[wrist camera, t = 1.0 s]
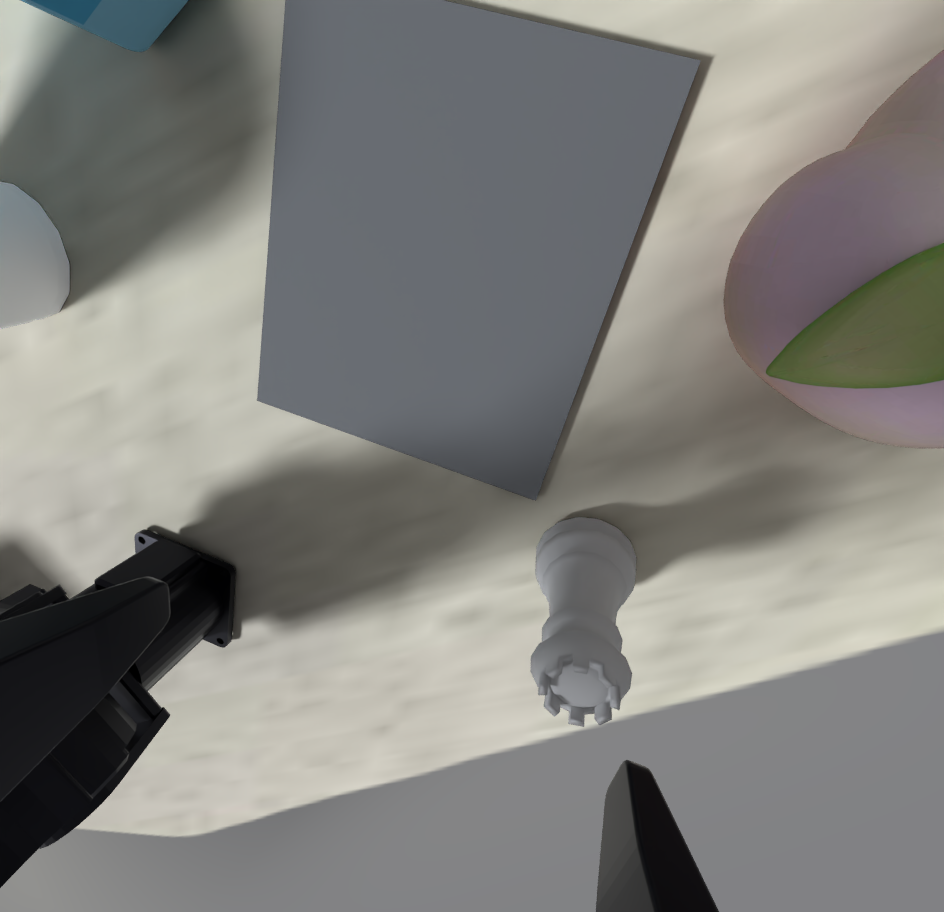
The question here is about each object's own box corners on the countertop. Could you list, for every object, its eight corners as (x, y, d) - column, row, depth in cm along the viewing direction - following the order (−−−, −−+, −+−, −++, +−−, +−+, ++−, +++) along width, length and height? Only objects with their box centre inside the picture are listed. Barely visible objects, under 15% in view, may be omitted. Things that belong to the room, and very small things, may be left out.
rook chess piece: (527, 579, 23) (495, 720, 16) (549, 500, 21) (523, 620, 14) (619, 606, 22) (629, 767, 15) (649, 527, 21) (677, 668, 13)
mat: (536, 496, 21) (535, 500, 21) (262, 398, 23) (257, 400, 23) (698, 65, 15) (700, 60, 14) (294, -30, 16) (288, -37, 16)
